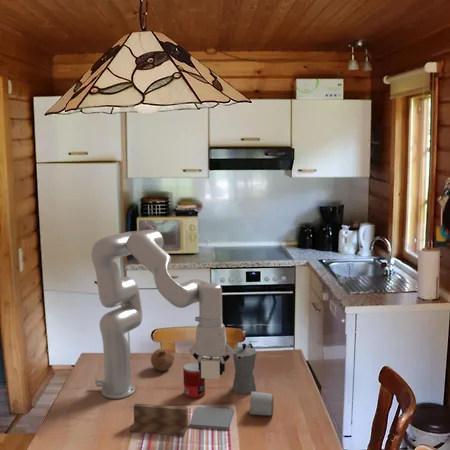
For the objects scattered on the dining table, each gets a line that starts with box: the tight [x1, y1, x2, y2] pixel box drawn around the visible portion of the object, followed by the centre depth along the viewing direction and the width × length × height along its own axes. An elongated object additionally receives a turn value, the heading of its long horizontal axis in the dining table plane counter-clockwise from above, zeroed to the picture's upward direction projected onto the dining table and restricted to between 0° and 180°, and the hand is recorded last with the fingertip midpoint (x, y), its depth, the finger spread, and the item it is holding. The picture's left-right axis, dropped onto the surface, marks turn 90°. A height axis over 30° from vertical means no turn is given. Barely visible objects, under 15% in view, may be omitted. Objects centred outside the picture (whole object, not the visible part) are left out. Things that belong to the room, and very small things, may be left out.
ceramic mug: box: [249, 391, 275, 417], centre depth 190 cm, size 11×8×8 cm
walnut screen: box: [129, 403, 189, 437], centre depth 179 cm, size 18×6×7 cm, turn 80°
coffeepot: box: [232, 342, 257, 395], centre depth 207 cm, size 15×9×18 cm, turn 159°
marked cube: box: [201, 356, 222, 380], centre depth 182 cm, size 6×6×6 cm
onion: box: [150, 347, 175, 372], centre depth 225 cm, size 10×9×10 cm
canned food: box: [182, 362, 206, 400], centre depth 203 cm, size 8×8×11 cm
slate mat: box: [189, 406, 235, 431], centre depth 185 cm, size 13×12×1 cm
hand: (211, 372), depth 183 cm, fingers closed on marked cube, 6 cm apart
